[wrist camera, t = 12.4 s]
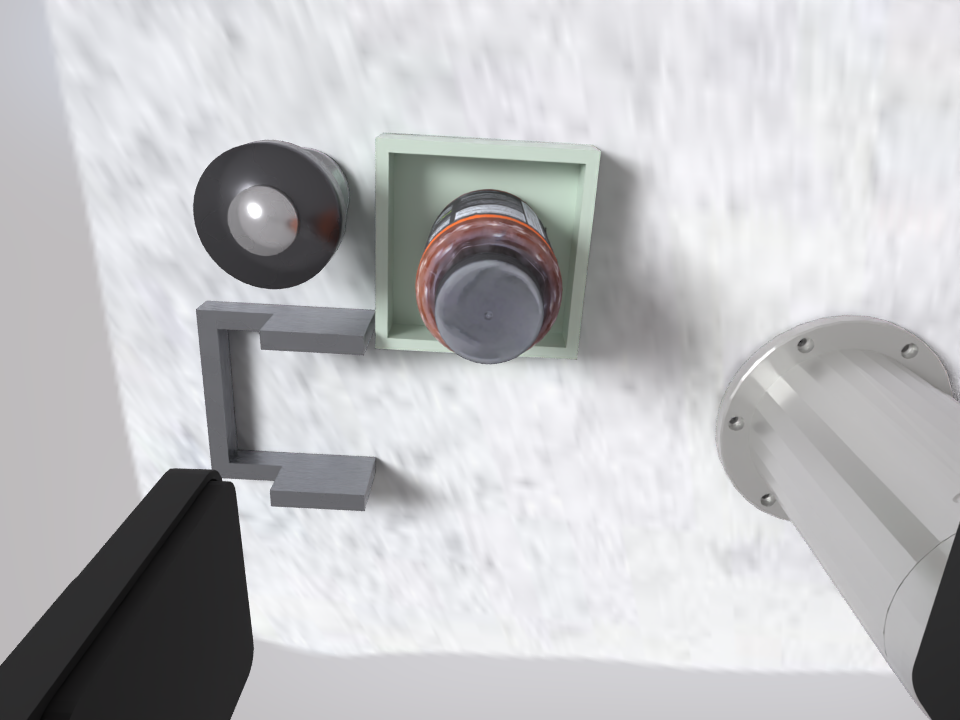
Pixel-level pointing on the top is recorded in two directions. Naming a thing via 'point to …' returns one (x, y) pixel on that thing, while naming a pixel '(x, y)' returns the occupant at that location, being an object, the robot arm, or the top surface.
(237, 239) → the pulley
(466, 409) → the top surface
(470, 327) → the supplement bottle
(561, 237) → the tray
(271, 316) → the bracket
